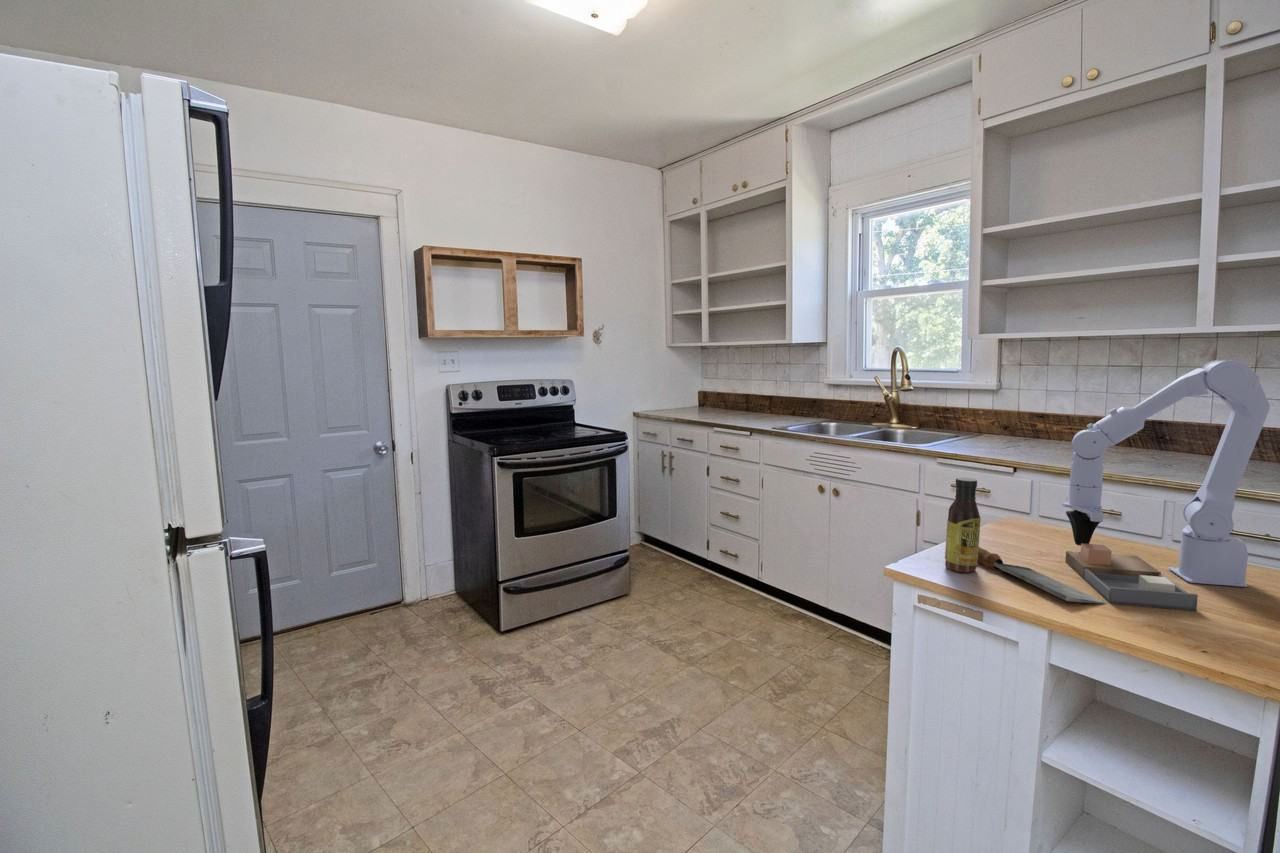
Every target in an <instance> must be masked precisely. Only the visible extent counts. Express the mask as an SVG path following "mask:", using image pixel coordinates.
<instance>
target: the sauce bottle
mask: <svg viewBox="0 0 1280 853" xmlns="http://www.w3.org/2000/svg"><path fill="white" fill-rule="evenodd" d="M977 487H978V480H977V479H975V478H973V477H972V478H971V477H956V478H955V488H956V489H955V500H954V501H953V502H952V503H951V504H950V506H949V508H948V517H947V521H946V522H947V523H946V524H947V525H946V538H945V552H944V559H945V563H944V565H945V567H946V568H947V569H949V571H953V572H957V573H964V574H965V573H968V574H969V573H973V572H975V571H976V570H977V566H978V563H977V562H978V548H979V547H980V546H979V544H980V533H981V532H980V531H981V521H982V520H981V516H980V512H979V509H978V505H977V501H976V499H977V498H976V492H977Z"/></svg>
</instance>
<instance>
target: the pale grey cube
mask: <svg viewBox="0 0 1280 853" xmlns="http://www.w3.org/2000/svg"><path fill="white" fill-rule="evenodd" d="M1165 577H1166V576H1165ZM1165 577H1157V576H1145V575H1139V585H1138V589H1144V590H1156V591H1169V592H1175V584H1176V583H1175V584H1173V583H1174V582H1173V581H1172V580H1170V579H1169V578H1168V577H1166V578H1165ZM1168 579H1169V580H1170V581H1169V580H1168ZM1171 581H1172V582H1173V583H1172V582H1171Z"/></svg>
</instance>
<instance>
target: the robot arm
mask: <svg viewBox="0 0 1280 853" xmlns="http://www.w3.org/2000/svg"><path fill="white" fill-rule="evenodd" d="M1208 390H1209V391H1210V392H1211V393H1214V394H1216V395H1217V396H1219V397H1220V399H1221V400H1222V402H1224V404H1226V405H1227V407H1228V408H1229V409H1230V414H1229V417H1228V419H1227V421H1226V424H1225V427H1224V429H1223V432H1222V434H1221V437H1220V439H1219V442H1218V445H1217V447H1216V448H1215V449H1216V450H1215V452H1214V454H1213V458H1212V460H1211V463H1210V464H1209V468H1208V470H1207V473H1206V475H1205V478H1204V480H1203V483H1202V484H1201V486H1200V487H1199V489H1198V490H1196V492H1195V495H1194V497H1193V499H1191V500H1190V501H1189V502H1187V503H1186V504H1185V505H1184V507H1183V509H1182V515H1183V518H1184V520H1185V521H1186V522H1187V523H1188V524H1187V525H1186V526H1185V527H1184V528H1182V529H1181V537H1180V538H1181V539H1180V547H1179V548H1180V549H1179V559H1178V567H1177V566H1176V567H1175V566H1174V567H1173V566H1168V570H1169V571H1171V572H1172V573H1174V574H1175V575H1177V576H1178V577H1179V578H1181V579H1182V580H1184V581H1185V582H1188V583H1192V584H1203V585H1204V584H1206V585H1216V586H1229V587H1230V586H1232V587H1245V588H1247V587H1248V583H1246V576H1247V568H1248V559H1249V555H1248V554H1249V552H1248V551H1249V550H1248V548H1247V545H1246V543H1245V542H1244V541H1243V540H1242V539H1241V538H1239V537H1234V536H1231V535H1230V534H1231V533H1232V532H1233V529H1234V526H1235V525H1234V519H1233V511H1234V509H1235V498H1236V497H1235V496H1236V493H1237V490H1238V488H1239V486H1240V483H1241V480H1242V478H1243V476H1244V473H1245V471H1246V468H1247V466H1248V464H1249V461H1250V458H1251V457H1252V454H1253V451H1254V449H1255V447H1256V444H1257V441H1258V440H1259V437H1260V435H1261V432H1262V429H1263V426H1264V424H1265V422H1266V419H1267V417H1268V414H1269V412H1270V407H1271V405H1270V403H1269V400H1268V398H1267V396H1266V392H1265V391H1264V388H1263V386H1262V384H1261V380H1260V377H1259V375H1258V373H1256V372H1255V370H1253V369H1252V368H1251V367H1249V366H1248V365H1247V364H1245V363H1243V362H1240V361H1236V360H1228V359H1215V360H1211V361H1208V362H1207V363H1206V364H1204V365H1203V366H1202V367H1197V368H1196V369H1194V370H1190V371H1189V372H1187V373H1186V374H1184V375H1181V376H1180V377H1179V378H1176V379H1175V380H1174V381H1172V382H1170V383H1169V384H1168V385H1166V386H1165V387H1162V388H1161V389H1159V390H1158V391H1157V392H1155V393H1154V394H1152V395H1150V396H1149V397H1148V398H1146V399H1145V400H1143V401H1141V402H1139V403H1138V404H1137V405H1135V406H1132V407H1129V406H1121V407H1119V408H1118V409H1116V408H1115V407H1114V408H1112V409H1109V411H1108V413H1109V414H1108V415H1107V416H1105V417H1103V418H1101V419H1100V420H1098V421H1096V422H1095V423H1088V424H1087V425H1086V427H1087V428H1088V429H1083V430H1080V431H1078V432H1077V433H1076V434H1074V436H1073V438H1072V440H1071V446H1072V449H1073V453H1072V456H1071V459H1072V462H1070V475H1069V476H1070V477H1069V489H1068V490H1069V492H1068V496H1067V497H1066V502H1063V501H1062V502H1061V505H1062V507H1064V508H1069V509H1073V511H1072V510H1066V511H1065V514H1066V516H1067V517H1068V520H1069V523H1070V525H1071V526H1070V527H1071V529H1072V534H1073V540H1074V543H1075V544H1076V546H1081V543H1082V544H1091V543H1090V542H1091V539H1092V537H1093V535H1094V532H1095V530H1096V528H1098V526H1099V524H1101V523H1104V516H1105V514H1104V512H1102V511H1103V510H1102V509H1103V506H1102V493H1103V492H1102V491H1103V479H1104V468H1105V467H1104V464H1103V459H1104V454H1105V453H1106V452H1107V449H1108V447H1113V446H1115V445H1117V444H1119V443H1121V442H1122V441H1124V440H1126V439H1127V438H1129V437H1131V436H1133V435H1134V434H1136V433H1138V432H1139V431H1142V430H1143V429H1144V427H1145V421H1146V420H1147V419H1148V418H1150V417H1152V416H1154V415H1156V414H1158V413H1159V412H1162V411H1163V410H1165V409H1167V408H1168V407H1170V406H1172V405H1174V404H1176V403H1178V402H1180V401H1181V400H1183V399H1185V398H1187V397H1192V396H1203V395H1204V396H1205V395H1210V394H1209V391H1208Z"/></svg>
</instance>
